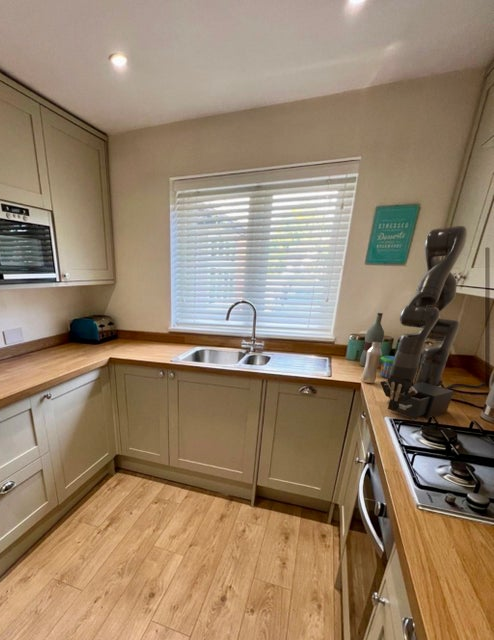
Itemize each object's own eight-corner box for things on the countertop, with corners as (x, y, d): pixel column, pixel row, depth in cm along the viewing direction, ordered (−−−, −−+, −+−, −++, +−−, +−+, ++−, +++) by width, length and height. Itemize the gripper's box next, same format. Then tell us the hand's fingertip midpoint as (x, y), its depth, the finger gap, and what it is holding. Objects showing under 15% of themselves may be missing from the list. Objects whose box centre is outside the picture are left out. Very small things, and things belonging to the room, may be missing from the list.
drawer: (406, 421, 120) (411, 403, 117) (378, 411, 128) (383, 393, 125) (433, 413, 127) (439, 395, 125) (406, 404, 136) (411, 387, 133)
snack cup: (404, 376, 175) (410, 358, 171) (407, 382, 166) (413, 362, 162) (371, 372, 181) (376, 354, 177) (372, 377, 172) (377, 358, 168)
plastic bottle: (367, 384, 160) (377, 344, 153) (356, 380, 166) (366, 341, 159) (377, 384, 162) (388, 343, 154) (367, 379, 168) (377, 340, 161)
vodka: (371, 368, 187) (385, 314, 176) (355, 364, 194) (367, 312, 183) (379, 366, 192) (392, 313, 181) (363, 362, 199) (375, 311, 188)
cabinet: (427, 418, 125) (434, 396, 122) (396, 407, 135) (403, 386, 131) (446, 412, 131) (454, 390, 128) (416, 402, 140) (422, 382, 137)
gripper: (431, 368, 112) (416, 414, 118) (393, 358, 123) (381, 401, 129) (419, 370, 109) (404, 418, 115) (380, 360, 119) (369, 404, 126)
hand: (392, 409), depth 122 cm, fingers closed
